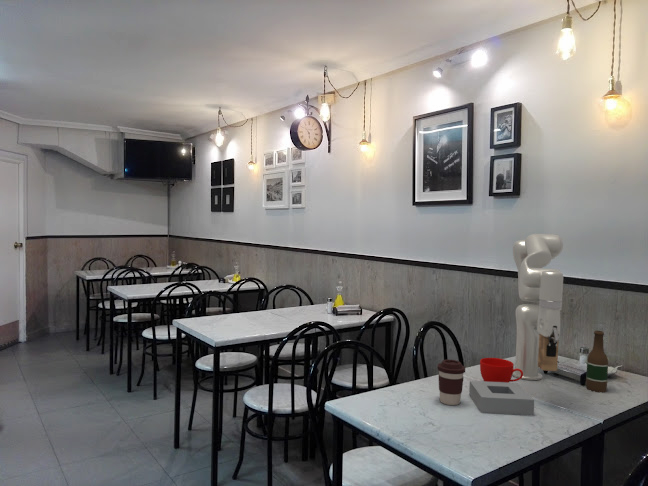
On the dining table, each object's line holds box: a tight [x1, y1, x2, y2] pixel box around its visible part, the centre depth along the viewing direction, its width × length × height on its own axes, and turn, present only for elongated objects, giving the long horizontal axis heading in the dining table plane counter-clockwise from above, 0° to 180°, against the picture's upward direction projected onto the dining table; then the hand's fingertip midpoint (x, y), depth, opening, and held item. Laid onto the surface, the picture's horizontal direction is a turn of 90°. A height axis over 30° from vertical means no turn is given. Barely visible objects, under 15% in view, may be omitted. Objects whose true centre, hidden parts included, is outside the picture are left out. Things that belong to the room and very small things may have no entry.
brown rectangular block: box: [538, 333, 560, 372], centre depth 181 cm, size 5×5×14 cm
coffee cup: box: [436, 359, 466, 406], centre depth 182 cm, size 10×10×15 cm
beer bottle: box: [585, 330, 609, 393], centre depth 201 cm, size 8×8×24 cm
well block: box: [468, 380, 535, 416], centre depth 181 cm, size 18×18×6 cm
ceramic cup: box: [479, 357, 523, 383], centre depth 201 cm, size 13×17×10 cm
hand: (547, 353), depth 181 cm, fingers closed on brown rectangular block, 5 cm apart
